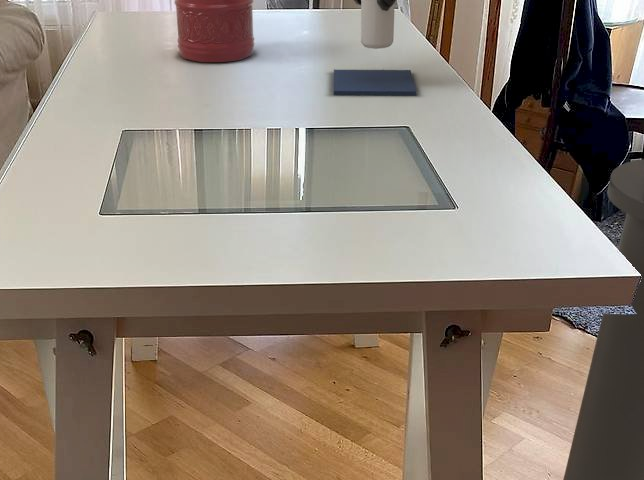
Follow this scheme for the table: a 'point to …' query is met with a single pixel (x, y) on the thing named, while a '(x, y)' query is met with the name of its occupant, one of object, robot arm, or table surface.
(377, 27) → the beverage can
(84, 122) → the table surface
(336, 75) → the drinks mat
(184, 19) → the kitchen canister
